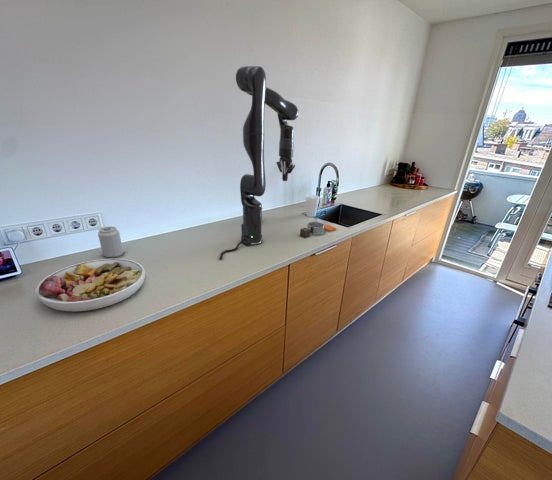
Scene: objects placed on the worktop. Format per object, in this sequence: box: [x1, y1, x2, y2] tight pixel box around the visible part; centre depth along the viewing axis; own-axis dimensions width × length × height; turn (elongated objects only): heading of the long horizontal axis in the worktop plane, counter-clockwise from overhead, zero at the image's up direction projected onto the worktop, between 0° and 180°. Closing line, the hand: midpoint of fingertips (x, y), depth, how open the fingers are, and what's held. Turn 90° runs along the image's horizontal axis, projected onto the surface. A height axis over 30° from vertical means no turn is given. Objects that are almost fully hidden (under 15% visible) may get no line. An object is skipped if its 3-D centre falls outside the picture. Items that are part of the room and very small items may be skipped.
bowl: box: [35, 258, 146, 312], centre depth 97 cm, size 30×30×8 cm
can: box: [97, 226, 124, 259], centre depth 121 cm, size 8×8×12 cm
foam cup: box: [305, 194, 321, 218], centre depth 193 cm, size 10×9×13 cm
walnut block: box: [299, 227, 311, 239], centre depth 159 cm, size 4×4×4 cm
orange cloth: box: [324, 224, 337, 233], centre depth 172 cm, size 6×7×1 cm
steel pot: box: [306, 221, 326, 236], centre depth 165 cm, size 10×10×5 cm
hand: (284, 180), depth 159 cm, fingers closed
